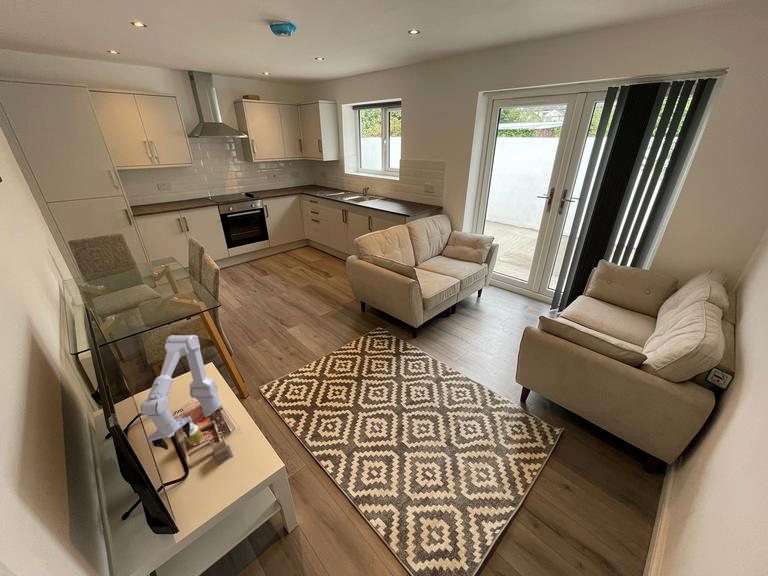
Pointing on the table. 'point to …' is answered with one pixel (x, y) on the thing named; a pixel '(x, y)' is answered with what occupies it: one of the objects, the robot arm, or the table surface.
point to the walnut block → (221, 451)
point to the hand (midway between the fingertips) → (178, 441)
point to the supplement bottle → (194, 434)
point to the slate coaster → (226, 458)
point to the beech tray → (204, 455)
